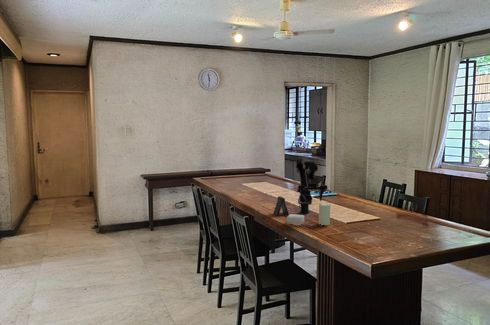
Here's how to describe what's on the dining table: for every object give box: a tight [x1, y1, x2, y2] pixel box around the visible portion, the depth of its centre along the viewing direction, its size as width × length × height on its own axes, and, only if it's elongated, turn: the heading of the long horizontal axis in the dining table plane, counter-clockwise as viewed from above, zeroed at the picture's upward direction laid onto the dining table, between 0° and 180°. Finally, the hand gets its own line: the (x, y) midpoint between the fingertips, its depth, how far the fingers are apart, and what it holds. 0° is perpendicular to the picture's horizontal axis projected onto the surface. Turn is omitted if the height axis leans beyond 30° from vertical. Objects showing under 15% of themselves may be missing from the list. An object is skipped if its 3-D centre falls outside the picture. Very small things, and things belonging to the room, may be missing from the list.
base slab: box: [285, 219, 305, 226], centre depth 244 cm, size 9×9×2 cm
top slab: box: [286, 213, 305, 223], centre depth 244 cm, size 9×9×2 cm
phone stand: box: [273, 196, 290, 217], centre depth 266 cm, size 9×6×12 cm, turn 108°
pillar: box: [318, 203, 331, 226], centre depth 241 cm, size 5×5×12 cm
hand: (313, 200), depth 246 cm, fingers open, 9 cm apart
